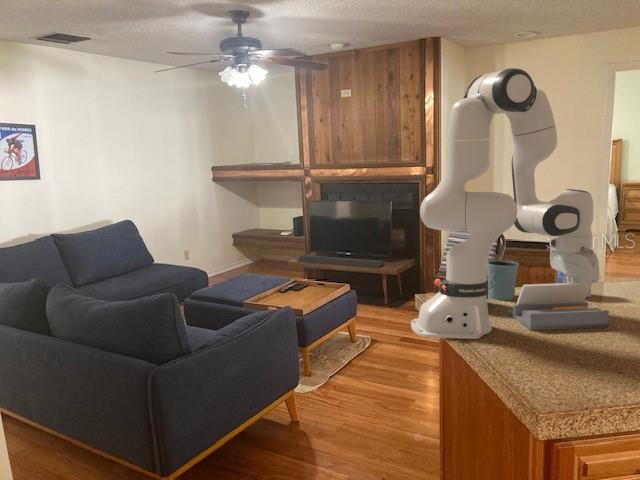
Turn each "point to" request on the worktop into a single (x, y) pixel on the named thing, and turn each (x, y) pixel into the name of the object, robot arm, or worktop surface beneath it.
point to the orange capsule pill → (570, 307)
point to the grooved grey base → (559, 316)
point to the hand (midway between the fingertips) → (572, 290)
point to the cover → (553, 293)
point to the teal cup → (502, 279)
